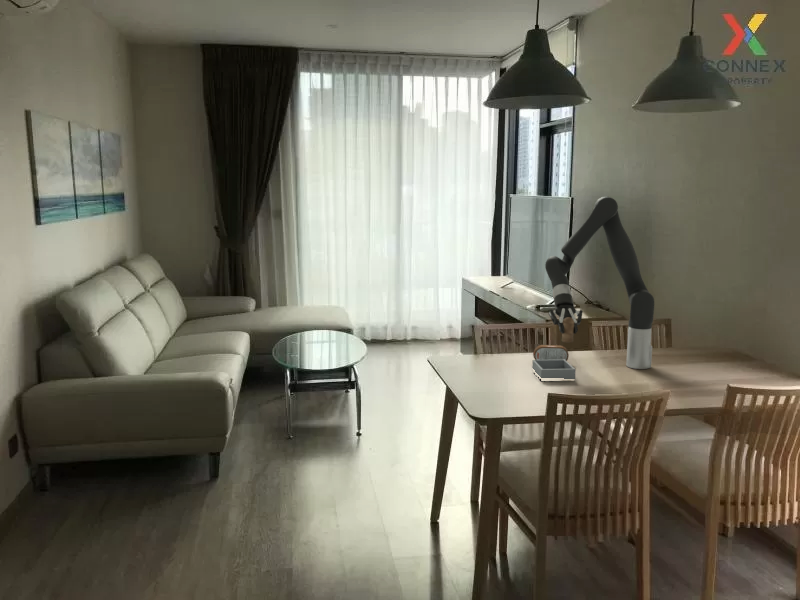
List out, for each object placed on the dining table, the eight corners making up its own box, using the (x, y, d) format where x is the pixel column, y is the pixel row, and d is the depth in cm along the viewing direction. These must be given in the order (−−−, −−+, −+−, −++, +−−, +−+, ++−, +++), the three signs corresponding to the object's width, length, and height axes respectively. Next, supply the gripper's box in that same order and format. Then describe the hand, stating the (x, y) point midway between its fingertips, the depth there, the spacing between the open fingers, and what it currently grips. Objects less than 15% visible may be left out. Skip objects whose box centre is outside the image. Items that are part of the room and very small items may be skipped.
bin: (564, 371, 266) (564, 359, 265) (574, 381, 252) (575, 369, 251) (532, 371, 265) (532, 359, 265) (540, 381, 251) (541, 369, 250)
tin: (567, 363, 278) (568, 344, 276) (568, 365, 275) (569, 346, 273) (532, 362, 279) (533, 344, 278) (533, 364, 276) (534, 346, 275)
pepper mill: (571, 340, 259) (572, 316, 257) (574, 342, 255) (575, 318, 253) (560, 339, 259) (562, 315, 257) (563, 342, 254) (564, 318, 253)
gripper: (547, 292, 261) (553, 327, 251) (582, 292, 261) (589, 327, 251) (543, 302, 267) (549, 337, 257) (577, 302, 267) (584, 337, 257)
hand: (569, 332), depth 254 cm, fingers closed on pepper mill, 4 cm apart
